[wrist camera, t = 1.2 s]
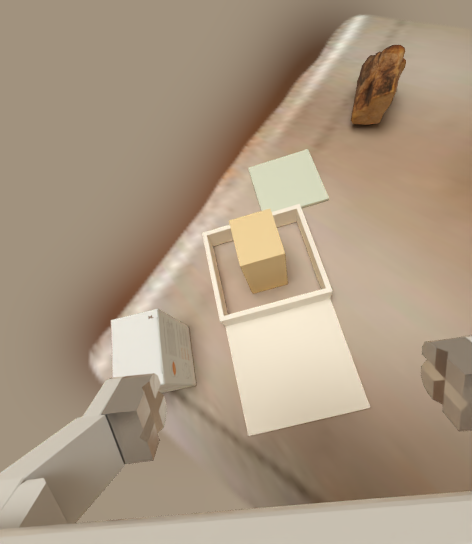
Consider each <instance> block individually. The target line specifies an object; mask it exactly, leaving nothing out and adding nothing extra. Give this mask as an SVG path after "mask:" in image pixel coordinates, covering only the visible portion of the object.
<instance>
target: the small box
mask: <svg viewBox="0 0 472 544" xmlns="http://www.w3.org/2000/svg"><path fill="white" fill-rule="evenodd" d="M111 342H112V376H113V377H122V376H124V377H125V376H132V375H142V374H153V373H155V374H156V375H158V378H159V381H160V387H159V390H158V391H159V392H160V393H165V392H169V391H174V390H179V389H183V388H188V387H192V386H196V379H195V372H194V364H193V357H192V349H191V342H190V334H189V327H188V326H187V325H185V324H183V323H182V322H180V321H178V320H176V319H175V318H173V317H171V316H170V315H168V314H166V313H165V312H163V311H161V310H159V309H154V310H150V311H146V312H142V313H138V314H134V315H130V316H126V317H122V318H118V319H114V320H111Z"/></svg>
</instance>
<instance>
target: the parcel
mask: <svg viewBox="0 0 472 544" xmlns="http://www.w3.org/2000/svg"><path fill="white" fill-rule="evenodd" d="M229 224H230V228H231V232H232V236H233V240H234V244H235V248H236V252H237V256H238V260H239V264H240V267H241V269H242V271H243V274H244V276H245V278H246V280H247V282H248V285H249V287H250V289H251V291H252V293H253V294H254V293H258V292H261V291H265V290H268V289H272V288H276V287H279V286H283V285H287V284H288V281H287V270H286V259H285V252H284V249H283V246H282V243H281V239H280V236H279V233H278V230H277V227H276V224H275V221H274V218H273V215H272V212H271V209H266V210H263V211H260V212H256V213H253V214H250V215H246V216H243V217H240V218H236V219H233V220H230V221H229Z"/></svg>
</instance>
